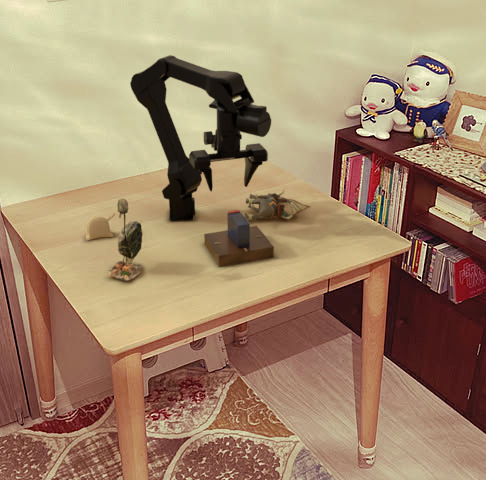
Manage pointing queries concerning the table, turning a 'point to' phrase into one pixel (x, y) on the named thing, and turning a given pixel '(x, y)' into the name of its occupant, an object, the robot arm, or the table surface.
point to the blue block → (238, 229)
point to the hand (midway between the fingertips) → (228, 188)
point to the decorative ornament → (98, 227)
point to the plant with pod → (127, 246)
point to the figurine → (273, 206)
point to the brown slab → (231, 254)
